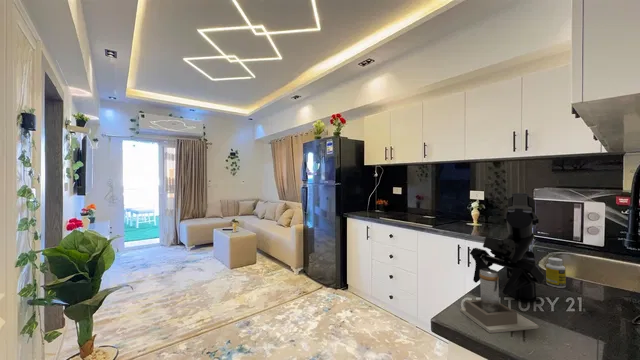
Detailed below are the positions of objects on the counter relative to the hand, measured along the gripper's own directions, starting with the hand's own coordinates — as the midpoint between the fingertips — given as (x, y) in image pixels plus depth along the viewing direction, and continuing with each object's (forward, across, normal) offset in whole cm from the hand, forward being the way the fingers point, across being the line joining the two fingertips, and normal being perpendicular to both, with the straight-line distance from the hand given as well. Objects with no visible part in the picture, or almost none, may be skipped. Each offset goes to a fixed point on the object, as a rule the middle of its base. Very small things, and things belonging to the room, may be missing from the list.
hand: (488, 287), depth 75 cm
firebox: (+5, 0, +8) cm, 9 cm away
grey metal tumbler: (+6, 0, +6) cm, 8 cm away
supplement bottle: (-24, -10, +38) cm, 46 cm away
